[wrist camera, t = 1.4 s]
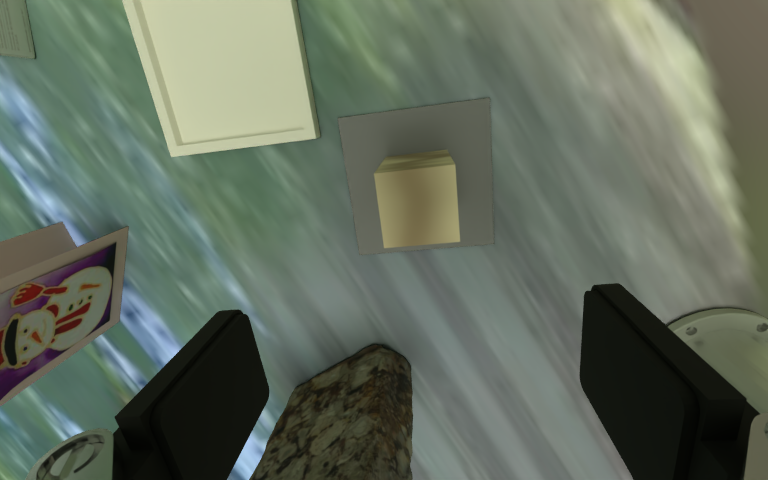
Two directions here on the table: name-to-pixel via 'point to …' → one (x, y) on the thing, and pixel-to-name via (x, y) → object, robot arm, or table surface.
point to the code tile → (417, 135)
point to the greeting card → (54, 300)
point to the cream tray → (225, 72)
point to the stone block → (346, 423)
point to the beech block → (418, 199)
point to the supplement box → (15, 30)
